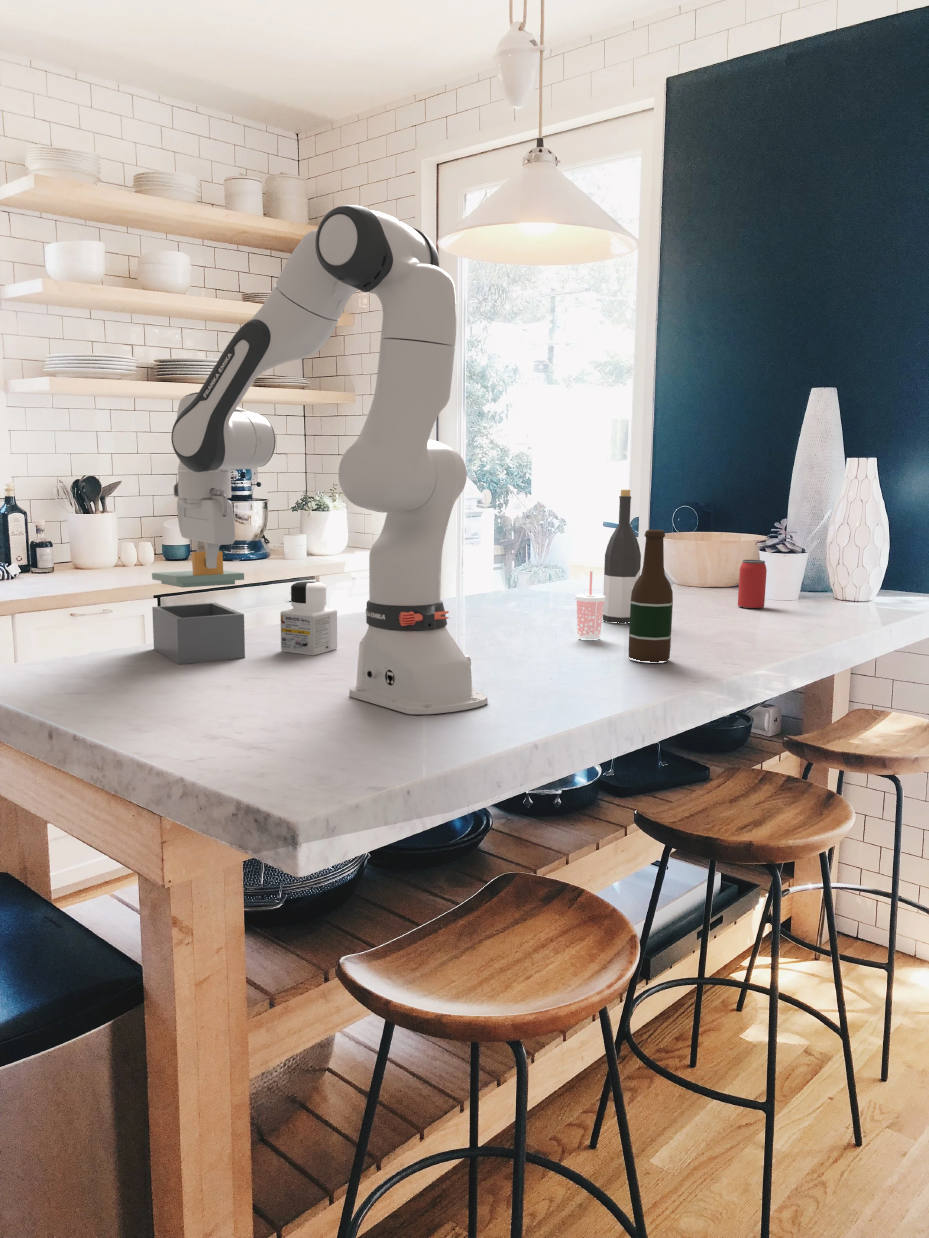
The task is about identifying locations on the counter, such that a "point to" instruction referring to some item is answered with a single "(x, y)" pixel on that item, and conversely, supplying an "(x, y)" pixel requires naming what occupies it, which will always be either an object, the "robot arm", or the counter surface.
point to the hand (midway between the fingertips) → (207, 567)
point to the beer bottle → (651, 605)
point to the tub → (198, 632)
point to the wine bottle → (621, 566)
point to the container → (308, 621)
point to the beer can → (752, 584)
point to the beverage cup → (589, 614)
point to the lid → (200, 574)
